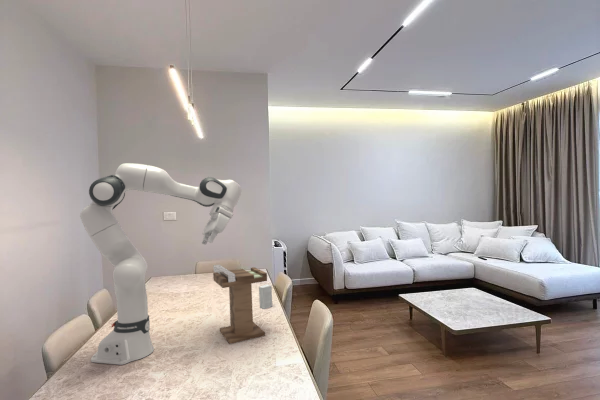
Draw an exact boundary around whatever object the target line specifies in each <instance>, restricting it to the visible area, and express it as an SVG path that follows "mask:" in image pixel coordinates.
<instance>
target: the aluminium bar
mask: <svg viewBox="0 0 600 400" xmlns="http://www.w3.org/2000/svg"><path fill="white" fill-rule="evenodd" d="M212 269H213V273H216V272H218V273H219V274H221V275H222V276H223V277H225V278H226V279H227V282H234V281H235V274H234V273H232V272H231V271H230V270H229V269H227V268H226V267H224V266H222V265H221V264H215V265H213V267H212Z"/></svg>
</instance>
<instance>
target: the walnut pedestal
mask: <svg viewBox="0 0 600 400" xmlns="http://www.w3.org/2000/svg"><path fill="white" fill-rule="evenodd" d="M229 271H231V272H232V273H234V274H235V281H234V282H227V279H226V278H225V277H223V276H222V275H221V274H219V273H218V272H216V273H215V272H213V274H212V275H213V276H212V277H213V281H214V282H215V283H216V284H217V285H219V286H220V287H221V288H222V289H226V288H228V294H229V317H230V318H229V320H230V322H229V323H230V325H228V326H224V327H219V332H220V334H221V335H222V336H223V338H224V339H225V341H227V342H228V344H229V345H232V344H236V343H240V342H244V341H248V340H252V339H256V338H262V337H264V336H266V333H265V331H264V330H263V329H262V328H261V327H259V325H258V324H256V323H255V322H254V317H253V316H254V315H253V291H252V290H253V289H252V286H253V285H252V284H257V283H262V282H268V273H267V272H265V271H263V270H262V269H259V268H257V267H254V266H253V267H250V270H245V269H243V268H239V269H232V270H229Z"/></svg>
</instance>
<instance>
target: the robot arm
mask: <svg viewBox="0 0 600 400" xmlns="http://www.w3.org/2000/svg"><path fill="white" fill-rule="evenodd" d="M128 191H137V192H145V193H151V194H160V195H165V196H171V197H175V198H180V199H185V200H189V201H192V202H194V203H197V204H198V205H199V206H203V207H206V208H207V207H209V208H210V207H212V208H211V210H210V211H209V216H210V219H209V220H208V221H207V223H206V225H205V226H204V229H203V230H202V235H203V239H202V241H201V245H204V246H205V245H207V243H210V244H212V243H213V242H214V240H215V239H216V238H217V236H218V234H220V233H222V232H223V231H224V230H225V229H226V227H227V225H228V223H229V222H230V219H232V218H233V217H234V209H235V207H236V205H238V203H239V200H240V197H241V195H242V187H241V185H240V184H239V183H238V182H237V181H235V180H233V179H219V178H214V177H211V176H210V177H209V176H208V177H205V178H203V179H202V180H201V182H200V183H199V185H198V186H193V185H188V184H185V183H180V182H178V181H176V180H174V179H173V178H172V177H171V175H170V174H169V173H168V172H167V171H166V170H165V169H163V168H160V167H158V166H154V165H149V164H143V163H132V162H128V163H127V162H126V163H125V162H123V163H122V164H120V165H119V166H118V167H117V169H116V170H115V174H110V175H107V176H104V177H100V178H97V179H95V180H94V181H93V182H92V183H91V184H90V186H89V189H88V195H89V198H90V199H91V200H92V202H91V203H90V204H88V205H86V206H84V207H83V209H82V210H81V211H80V215H79V217H80V220H81V223H82V224H83V227H84V228H85V229H84V230H86V233H87V235H88V236H89V237H90V239H91V241H92V242H93V244H94V245H95V247H96V248H97V250H98V251H99V253H100V254H101V256H103V257H104V258H105V259H106V260H107V261H108V262H109V263H110V264H111V265H112V266H113V268H114V269H113V271H112V281H113V288H114V294H115V298H116V310H117V311H116V313H117V314H116V315H117V320H114V322H113V323H111V327H110V328H113V330H112V331H110V332H109V333H108V334H107V335H106V336H105V337H104V338H102V339H101V341H99V344H98V346H97V351H96V352H95V353H94V354H93V355H92V356H91V358H90V362H91V363H98V364H108V365H109V364H110V365H121V366H122V365H125V364H129V363H130V362H133V361H137V360H140V359H143V358H145V357H148V356H149V355H151V354H152V353H153V352H154V349H155V348H154V345H153V344H152V340H151V339H152V338H151V333H150V327H151V326H150V325H151V323H150V316H149V307H148V294H147V287H146V274H147V272H148V270H149V269H148V268H149V266H148V262H147V260H146V259H145V258H144V256H143V255H142V254H141V252H140V251H139V249H137V247H136V246H135V245H134V244H133V241H131V240H130V237H128V236H127V234H126V232H125V230H124V229H123V227H122V226H121V225H120V223H119V221H118V220H117V218H116V216H115V214H114V213H113V210H115V208H116V207H117V206H119V204H121V203H122V202H123V200H124V199H125V196H126V193H127V192H128Z"/></svg>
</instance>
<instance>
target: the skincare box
mask: <svg viewBox="0 0 600 400" xmlns="http://www.w3.org/2000/svg"><path fill="white" fill-rule="evenodd" d="M272 291H273V290H272V284H271V285H270V284H264V285H261V286H258V296H259V299H258V300H259V308H260V309H262V310H267V309H269V308H272V307H273V292H272Z"/></svg>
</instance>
